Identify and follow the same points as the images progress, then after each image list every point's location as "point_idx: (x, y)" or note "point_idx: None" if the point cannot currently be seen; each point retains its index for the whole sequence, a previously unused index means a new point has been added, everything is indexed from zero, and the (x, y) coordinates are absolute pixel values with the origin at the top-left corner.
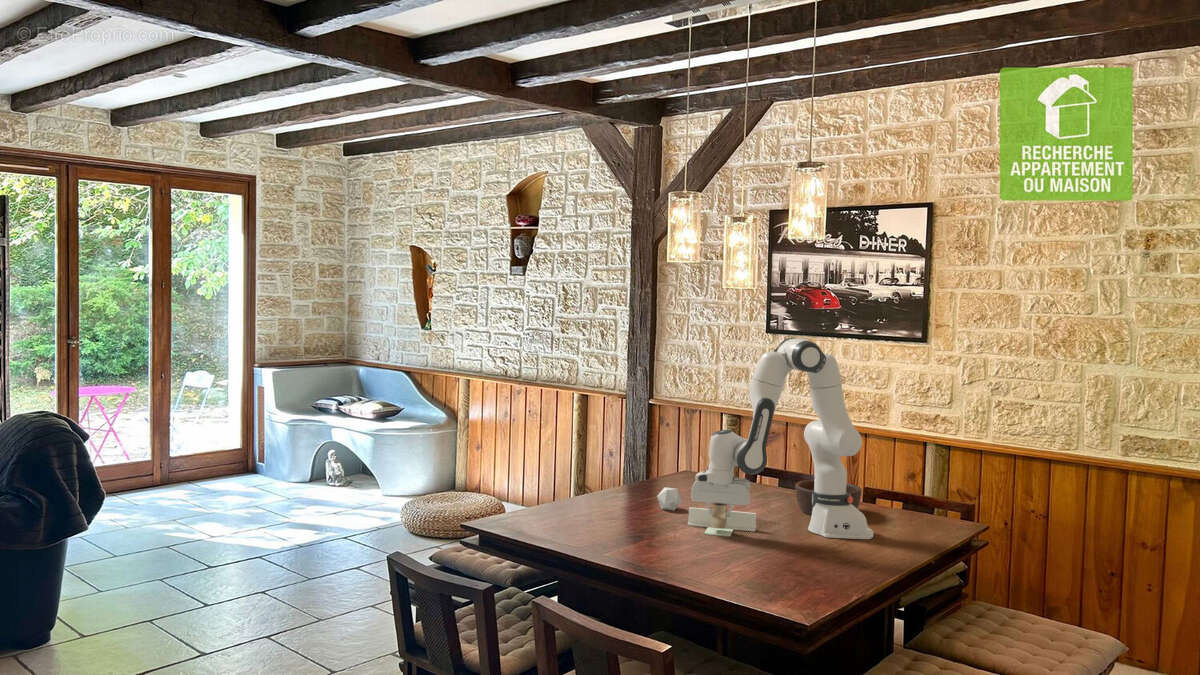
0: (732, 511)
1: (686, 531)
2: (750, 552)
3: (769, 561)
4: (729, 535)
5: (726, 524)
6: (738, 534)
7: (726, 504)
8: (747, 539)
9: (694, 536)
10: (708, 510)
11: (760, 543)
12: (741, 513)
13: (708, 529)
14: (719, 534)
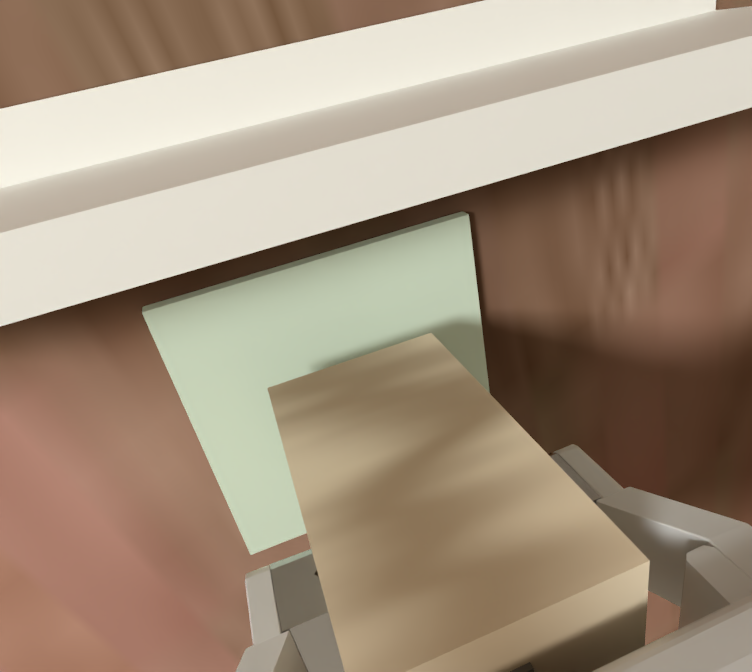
0: (555, 130)
1: (21, 591)
2: (665, 632)
3: None
4: None
5: (439, 345)
6: (543, 330)
7: (644, 644)
8: (632, 420)
9: (207, 648)
10: (29, 311)
11: (721, 446)
12: (703, 118)
13: (217, 416)
14: None
